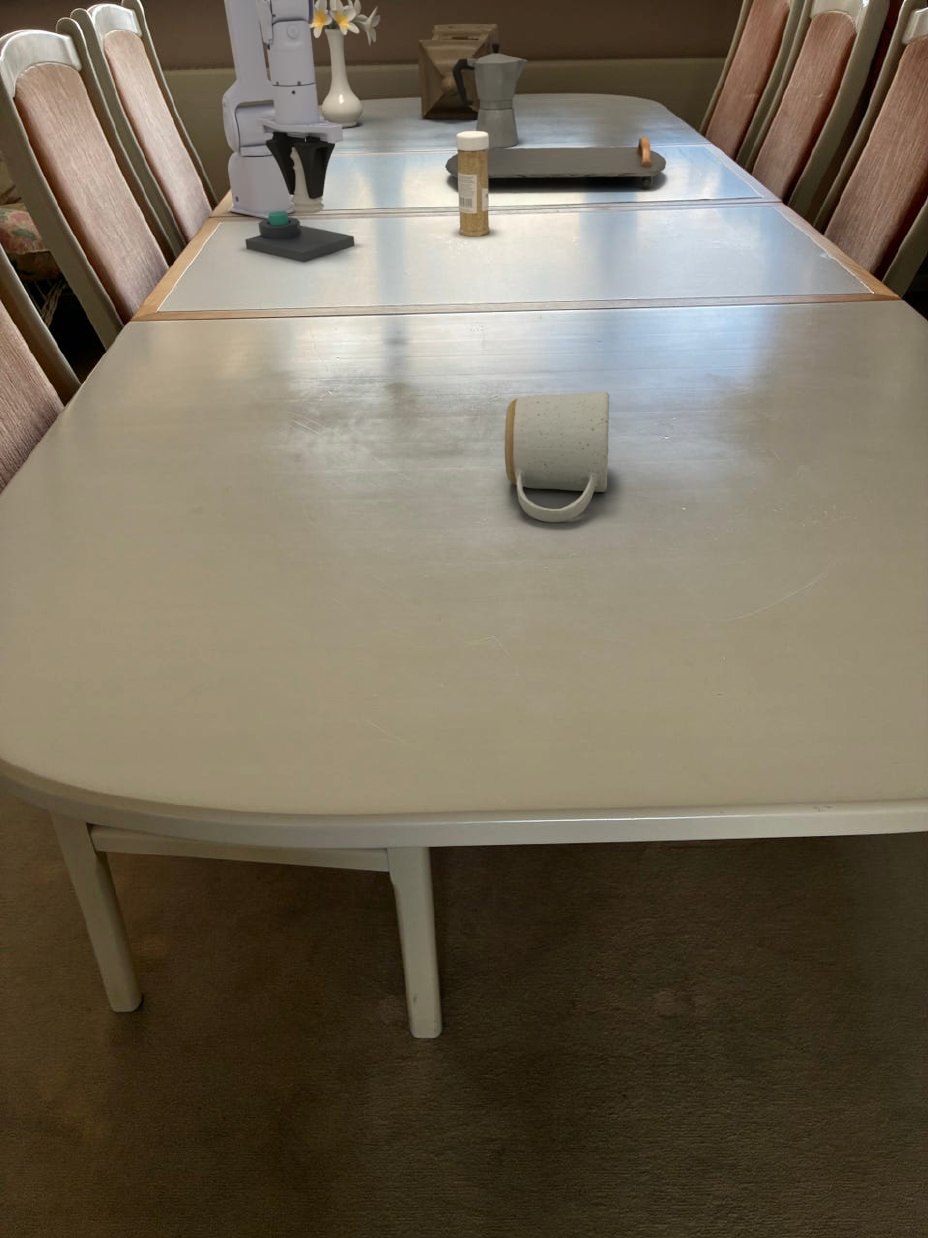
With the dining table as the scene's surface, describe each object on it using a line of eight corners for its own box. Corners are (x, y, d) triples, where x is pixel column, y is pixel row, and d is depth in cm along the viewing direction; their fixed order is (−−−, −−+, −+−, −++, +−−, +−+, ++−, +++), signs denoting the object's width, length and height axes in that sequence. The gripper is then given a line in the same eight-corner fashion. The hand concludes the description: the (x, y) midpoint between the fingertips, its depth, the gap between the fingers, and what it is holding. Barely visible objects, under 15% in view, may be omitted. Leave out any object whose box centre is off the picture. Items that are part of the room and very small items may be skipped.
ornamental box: (481, 138, 217) (491, 44, 205) (404, 127, 218) (410, 33, 206) (497, 108, 244) (506, 24, 233) (429, 99, 245) (435, 14, 233)
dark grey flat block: (242, 248, 138) (239, 226, 136) (293, 233, 144) (291, 211, 143) (304, 262, 132) (301, 240, 130) (354, 246, 138) (352, 224, 136)
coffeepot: (521, 137, 202) (522, 38, 192) (533, 145, 195) (535, 42, 184) (449, 142, 200) (446, 42, 189) (459, 151, 192) (456, 47, 182)
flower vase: (384, 128, 215) (375, -4, 200) (302, 131, 215) (287, -2, 201) (388, 119, 226) (380, -8, 211) (310, 121, 226) (297, -6, 211)
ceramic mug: (510, 460, 82) (510, 375, 77) (607, 463, 81) (613, 377, 76) (499, 525, 74) (499, 434, 69) (607, 529, 73) (613, 437, 68)
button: (265, 225, 138) (264, 213, 137) (280, 221, 140) (278, 209, 139) (278, 228, 137) (277, 216, 136) (293, 223, 138) (291, 212, 138)
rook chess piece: (329, 207, 134) (323, 144, 130) (315, 214, 131) (308, 151, 126) (301, 205, 136) (293, 143, 131) (286, 213, 132) (278, 149, 128)
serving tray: (440, 193, 163) (439, 153, 159) (451, 165, 181) (450, 128, 178) (671, 191, 160) (675, 150, 156) (658, 162, 178) (661, 125, 175)
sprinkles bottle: (495, 233, 141) (495, 132, 133) (469, 238, 139) (467, 136, 131) (478, 227, 144) (476, 128, 136) (452, 232, 142) (449, 132, 134)
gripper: (355, 82, 123) (364, 195, 131) (278, 75, 130) (291, 183, 138) (315, 89, 118) (327, 206, 126) (238, 82, 126) (254, 192, 134)
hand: (306, 195), depth 132 cm, fingers closed on rook chess piece, 3 cm apart
